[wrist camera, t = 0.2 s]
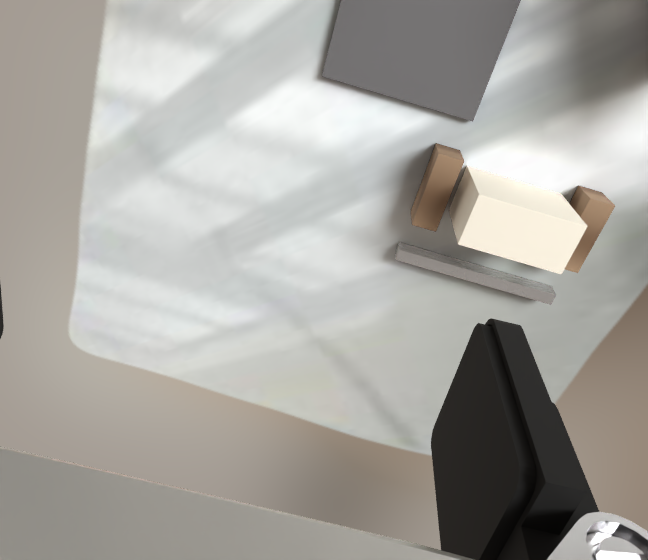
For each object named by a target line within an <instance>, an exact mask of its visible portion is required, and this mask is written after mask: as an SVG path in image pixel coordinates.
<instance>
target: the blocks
mask: <svg viewBox="0 0 648 560" xmlns="http://www.w3.org/2000/svg"><path fill="white" fill-rule="evenodd" d="M463 163H464V159H463V157H462V155H461V152H460V150H457V149H453V148H450V147H447V146H443V145H440V144H437V143H436V144H435V147H434V149H433V152H432V155H431V157H430V160H429V163H428V166H427V168H426V171H425V174H424V176H423V179H422V182H421V185H420V187H419V190H418V193H417V195H416V198H415V201H414V204H413V206H412V209H411V220H412V225H414V226H418V227H421V228H425V229H428V230H432V231H435V232H436V230H437V228H438V225H439V223H440V220H441V218H442V215H443V213H444V210H445V208H446V205H447V203H448V200H449V198H450V195H451V193H452V190H453V188H454V185H455V183H456V180H457V178H458V175H459V173H460V170H461V168H462V165H463ZM569 204H570V205H571V206H572V208H573V209H574V210H575V211H576V213H577V214H578V215H579V216H580V217H581V219H582V220H583V221H584V222H585V224H586V225H587V228H586V230H585V232H584V234H583V236H582V238H581V239H580V241H579V243H578V245H577V247H576V249H575V250H574V252H573V254H572V256H571V258H570V260H569V261H568V263H567V265H566V267H565V269H566V270H569V271H573V272H576V273H578V272H579V270H580V268H581V266H582V264H583V263H584V261H585V259H586V257H587V255H588V254H589V252H590V250H591V248H592V247H593V245H594V243H595V241H596V239H597V238H598V236H599V234H600V232H601V230H602V229H603V227H604V225H605V223H606V222H607V220H608V218H609V216H610V214H611V213H612V211H613V209H614V207H615V205H614V204H613V203H612V202H611V201H610V200H609V199H608V198H607V197H606V196H605V195H604V194H603V193H602V192H598V191H595V190H592V189H588V188H585V187H581V186H578V188H577V190H576V192H575V193H574V195H573V197H572V199H571V201H570V203H569ZM396 260H397V261H401V262H404V263H408V264H411V265H415V266H418V267H422V268H425V269H429V270H432V271H436V272H439V273H443V274H446V275H450V276H453V277H456V278H460V279H463V280H467V281H470V282H474V283H477V284H481V285H484V286H488V287H491V288H495V289H498V290H502V291H505V292H509V293H512V294H516V295H519V296H522V297H526V298H529V299H533V300H536V301H540V302H543V303H547V304H550V305H551V304H552V302H553V300H554V298H555V297H556V294H555V292H554V290H553V288H552V286H549V285H546V284H542V283H539V282H535V281H532V280H528V279H525V278H522V277H518V276H515V275H511V274H508V273H504V272H501V271H497V270H494V269H490V268H487V267H484V266H480V265H477V264H473V263H470V262H466V261H463V260H459V259H456V258H452V257H449V256H445V255H442V254H439V253H435V252H432V251H428V250H425V249H421V248H418V247H414V246H411V245H407V244H404V243H401V242H399V244H398V247H397V250H396Z"/></svg>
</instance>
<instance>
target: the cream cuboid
mask: <svg viewBox="0 0 648 560" xmlns="http://www.w3.org/2000/svg"><path fill="white" fill-rule="evenodd" d="M449 213H450V217H451V220H452V224H453V228H454V232H455V235H456V239H457V243H458V245H462V246H465V247H469V248H472V249H476V250H479V251H482V252H486V253H489V254H493V255H496V256H500V257H503V258H507V259H510V260H514V261H517V262H520V263H524V264H527V265H531V266H534V267H538V268H541V269H545V270H548V271H551V272H555V273H558V274H562V273H563V271H564V269H565V267H566V265H567V263H568V261H569V260H570V258H571V256H572V254H573V252H574V250H575V249H576V247H577V245H578V243H579V241H580V239H581V238H582V236H583V234H584V232H585V230H586V228H587V225H586V224H585V222H584V221H583V220H582V219H581V217H580V216H579V215H578V214H577V213H576V211H575V210H574V209H573V208H572V206H571V205H570V204H569V203H568V202H567V200H566V199H565V198H564V197H563V195H562V194H561V193H558V192H555V191H551V190H548V189H544V188H541V187H538V186H534V185H531V184H528V183H524V182H521V181H517V180H514V179H511V178H507V177H504V176H501V175H497V174H494V173H490V172H487V171H484V170H480V169H477V168H474V167H470V166H466V169H465V171H464V174H463V176H462V179H461V181H460V184H459V186H458V189H457V191H456V194H455V196H454V199H453V201H452V203H451V206H450V208H449Z"/></svg>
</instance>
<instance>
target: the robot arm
mask: <svg viewBox="0 0 648 560" xmlns="http://www.w3.org/2000/svg"><path fill="white" fill-rule="evenodd" d="M2 333H3V313H2V300H1V287H0V338H1V336H2ZM431 449H432V459H433V470H434V480H435V490H436V501H437V511H438V521H439V531H440V541H441V550H438V549H434V548H430V547H426V546H423V545H419V544H416V543H412V542H408V541H404V540H399V539H395V538H391V537H387V536H382V535H378V534H374V533H370V532H366V531H361V530H357V529H353V528H349V527H345V526H341V525H336V524H332V523H328V522H323V521H319V520H315V519H311V518H307V517H302V516H298V515H294V514H290V513H285V512H281V511H277V510H272V509H268V508H264V507H260V506H256V505H251V504H247V503H243V502H239V501H234V500H230V499H226V498H221V497H218V496H213V495H209V494H205V493H201V492H196V491H192V490H188V489H184V488H179V487H175V486H171V485H166V484H162V483H158V482H153V481H149V480H145V479H140V478H136V477H132V476H127V475H123V474H118V473H114V472H110V471H106V470H101V469H97V468H93V467H88V466H84V465H80V464H75V463H70V462H66V461H62V460H58V459H53V458H48V457H44V456H40V455H36V454H32V453H27V452H23V451H18V450H13V449H10V448H5V447H1V446H0V560H648V532H647V531H646V530H645V529H643V528H641V527H640V526H638V525H636V524H635V523H633V522H631V521H630V520H627V519H625V518H622V517H620V516H617V515H615V514H610V513H604V512H599V510H598V508H597V505H596V503H595V500H594V498H593V495H592V493H591V490H590V488H589V485H588V483H587V480H586V478H585V475H584V473H583V470H582V468H581V466H580V463H579V460H578V458H577V456H576V453H575V451H574V448H573V446H572V443H571V441H570V438H569V436H568V433H567V431H566V428H565V426H564V423H563V421H562V418H561V416H560V414H559V411H558V409H557V407H556V406H555V404H554V403H552V402H551V400H550V397H549V395H548V392H547V389H546V387H545V384H544V382H543V379H542V377H541V374H540V372H539V369H538V367H537V364H536V362H535V359H534V357H533V354H532V352H531V349H530V347H529V344H528V341H527V339H526V336H525V334H524V331H523V329H522V327H521V326H520V325H517V324H512V323H508V322H504V321H500V320H495V319H489V320H488V321H487V322H486V324H485V325H484V324H480V323H478V324H477V325H476V326H475V328H474V330H473V332H472V335H471V337H470V340H469V342H468V345H467V347H466V350H465V352H464V354H463V357H462V359H461V362H460V364H459V367H458V369H457V372H456V374H455V377H454V379H453V381H452V384H451V386H450V389H449V391H448V394H447V396H446V399H445V401H444V403H443V406H442V408H441V411H440V413H439V416H438V418H437V421H436V423H435V426H434V429H433V432H432V438H431Z"/></svg>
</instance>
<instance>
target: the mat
mask: <svg viewBox="0 0 648 560" xmlns="http://www.w3.org/2000/svg"><path fill="white" fill-rule="evenodd" d="M520 1H521V0H341V3H340V7H339V11H338V15H337V19H336V23H335V26H334V30H333V34H332V38H331V42H330V46H329V50H328V54H327V58H326V62H325V66H324V70H323V74H322V76H323V77H326V78H329V79H333V80H336V81H339V82H343V83H346V84H349V85H353V86H356V87H359V88H363V89H366V90H369V91H373V92H376V93H379V94H383V95H386V96H389V97H393V98H396V99H399V100H403V101H406V102H410V103H413V104H416V105H420V106H423V107H426V108H430V109H433V110H436V111H440V112H443V113H446V114H450V115H453V116H456V117H460V118H463V119H466V120H470V121H473V120H474V117H475V115H476V112H477V110H478V107H479V105H480V102H481V99H482V97H483V94H484V92H485V89H486V87H487V84H488V82H489V79H490V77H491V74H492V72H493V69H494V66H495V64H496V61H497V59H498V56H499V54H500V51H501V49H502V46H503V44H504V41H505V39H506V36H507V34H508V31H509V28H510V26H511V23H512V21H513V18H514V16H515V13H516V11H517V8H518V6H519V3H520Z"/></svg>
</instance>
